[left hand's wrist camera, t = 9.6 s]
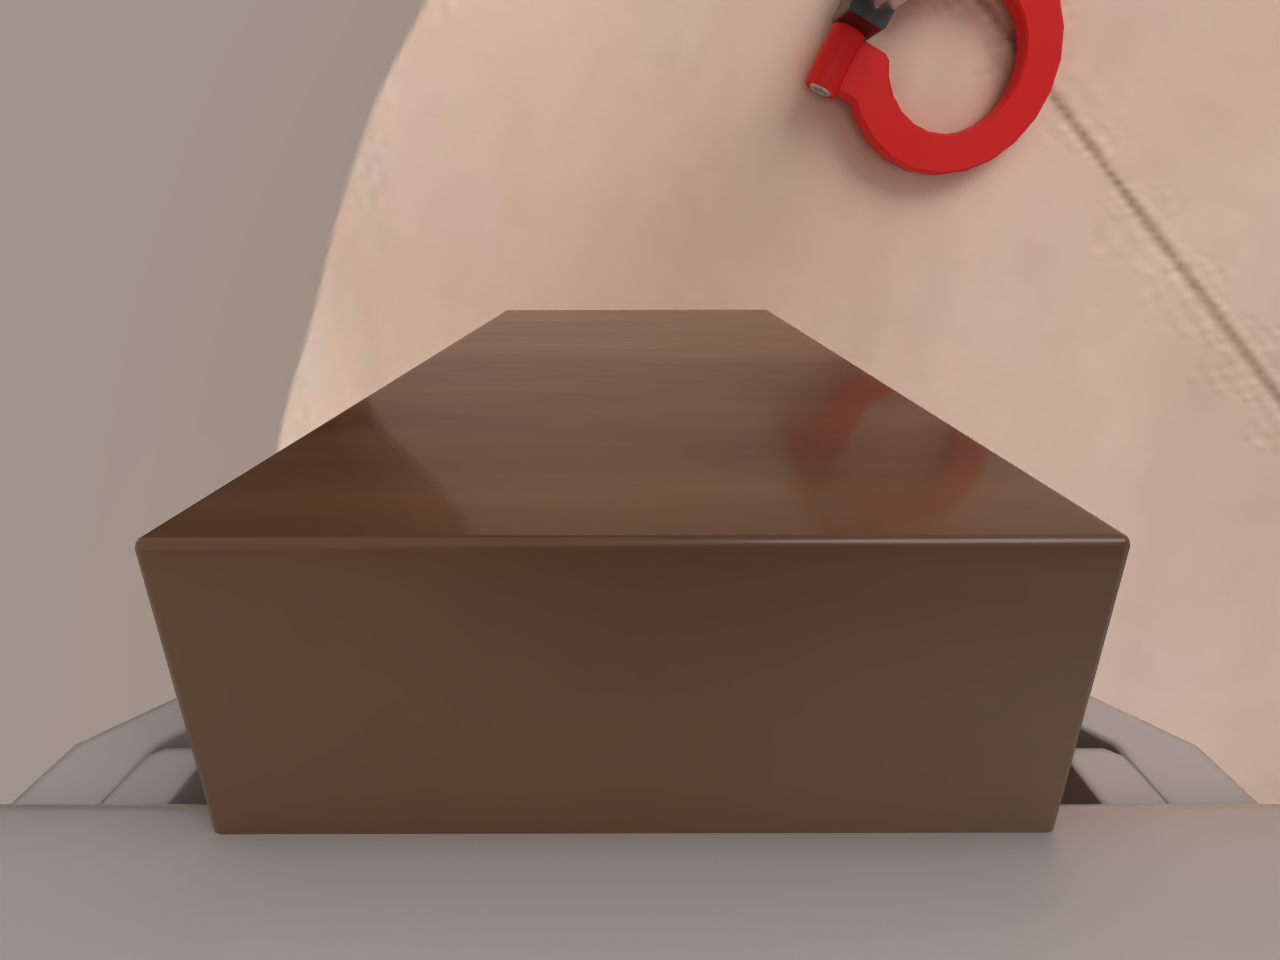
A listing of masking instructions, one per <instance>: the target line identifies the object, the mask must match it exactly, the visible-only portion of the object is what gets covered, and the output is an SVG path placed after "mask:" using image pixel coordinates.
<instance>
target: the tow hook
mask: <svg viewBox="0 0 1280 960" xmlns="http://www.w3.org/2000/svg"><path fill="white" fill-rule="evenodd" d="M906 1H908V0H842V1H841V3H840V5H839V7H838V9H837V11H836V13H835V15H834V17H833V20H832V24H833V25H832V27H831V29H830V31H829V33H828V35H827V37H826V39H825V41H824V43H823V46H822V48H821V50H820V52H819V54H818V56H817V58H816V60H815V62H814V64H813V66H812V68H811V70H810V72H809V74H808V76H807V78H806V80H805V84H806V85H807V86H808V87H809V88H810V89H811V90H812V91H814V92H815V93H817V94H819V95H822V96H824V97H828V98H835V97H836V96H838V97H839V98H841V99H843V100H844V101H846V102H848V103H849V104H851V108H852V112H853V116H854V119H855V121H856V123H857V124H858V126H859V128H860V130H861V132H862V133H863V135H864V137H865V139H866V141H867V142H868V143H869V144H870V145H871V146H872V147H873V148H874V149H875V150H876V151H877V152H878V153H879V154H880V155H881V156H882V157H883V158H884V159H885V160H887V161H889V162H891V163H893V164H895V165H897V166H899V167H901V168H903V169H905V170H907V171H910V172H916V173H923V174H929V175H938V174H946V173H953V172H961V171H966V170H969V169H971V168H973V167H976V166H978V165H980V164H983V163H985V162H987V161H990V160H992V159H993V158H994V157H996V156H997V155H998V154H1000V153H1001V152H1002V151H1004V150H1005V149H1006V148H1008V147H1009V146H1011V145H1012V144H1013V143H1015V142H1016V140H1017V139H1018V138H1019V137H1020V136H1021V135H1022V133H1023V132H1024V131H1025V130H1026V129H1027V128H1028V127H1029V125H1030V124H1031V123H1032V122H1033V121H1034V120H1035V118H1036V117H1037V115H1038V113H1039V111H1040V109H1041V108H1042V106H1043V104H1044V102H1045V100H1046V99H1047V97H1048V95H1049V93H1050V91H1051V89H1052V86H1053V83H1054V79H1055V76H1056V73H1057V70H1058V67H1059V63H1060V60H1061V52H1062V41H1063V30H1064V24H1063V17H1062V10H1061V3H1060V0H1003V1H1004V2H1005V3H1006V5H1007V7H1008V9H1009V11H1010V14H1011V16H1012V18H1013V20H1014V24H1015V31H1016V37H1017V51H1016V62H1015V66H1014V69H1013V73H1012V76H1011V80H1010V82H1009V84H1008V86H1007V88H1006V90H1005V92H1004V93H1003V95H1002V97H1001V99H1000V100H999V102H998V103H997V104H996V105H995V106H994V108H993V109H992V110H991V111H990V112H989V113H988V115H987V116H985V117H984V118H983V119H981V120H980V121H979V122H977V123H976V124H975V125H973V126H972V127H970V128H967V129H965V130H963V131H960V132H958V133H952V134H939V133H933V132H928V131H926V130H924V129H923V128H921V127H919V126H917V125H915V124H913V123H912V122H911V121H910V120H909V119H908V118H907V117H906V116H905V115H904V114H903V113H902V111H901V109H900V107H899V106H898V104H897V102H896V100H895V98H894V96H893V93H892V88H891V84H890V80H889V60H888V58H887V56H886V54H885V53H883V52H882V51H880V50H878V49H877V48H875V47H874V46H872V45H870V44H869V43H867V42H865V41H866V40H868V39H869V38H871V37H872V36H874V35H876V34H877V33H879V32H880V31H882V30H883V29H885V28H886V26H887V24H888V22H889V20H890V18H891V16H892V14H893V12H894V10H895V9H896V8H897V7H899V5H902V4H903V3H905V2H906Z"/></svg>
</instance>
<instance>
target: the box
mask: <svg viewBox="0 0 1280 960" xmlns="http://www.w3.org/2000/svg"><path fill="white" fill-rule="evenodd" d="M1129 548H1130V542H1129V539H1128V537H1127V536H1126V535H1124V534H1123V533H1121V532H1120V531H1118V530H1116V529H1115V528H1113V527H1112V526H1110V525H1108V524H1107V523H1105V522H1104V521H1102V520H1100V519H1099V518H1097V517H1096V516H1094V515H1093V514H1091V513H1089V512H1088V511H1086V510H1085V509H1083V508H1081V507H1080V506H1078V505H1077V504H1075V503H1073V502H1072V501H1070V500H1069V499H1067V498H1065V497H1064V496H1062V495H1061V494H1059V493H1057V492H1056V491H1054V490H1053V489H1051V488H1049V487H1048V486H1046V485H1045V484H1043V483H1041V482H1040V481H1038V480H1037V479H1035V478H1033V477H1032V476H1030V475H1029V474H1027V473H1026V472H1024V471H1022V470H1021V469H1019V468H1018V467H1016V466H1014V465H1013V464H1011V463H1010V462H1008V461H1006V460H1005V459H1003V458H1002V457H1000V456H998V455H997V454H995V453H994V452H992V451H990V450H989V449H987V448H986V447H984V446H982V445H981V444H979V443H978V442H976V441H974V440H973V439H971V438H970V437H968V436H967V435H965V434H963V433H962V432H960V431H959V430H957V429H955V428H954V427H952V426H951V425H949V424H947V423H946V422H944V421H943V420H941V419H939V418H938V417H936V416H935V415H933V414H931V413H930V412H928V411H927V410H925V409H923V408H922V407H920V406H919V405H917V404H915V403H914V402H912V401H911V400H909V399H908V398H906V397H904V396H903V395H901V394H900V393H898V392H896V391H895V390H893V389H892V388H890V387H888V386H887V385H885V384H884V383H882V382H880V381H879V380H877V379H876V378H874V377H872V376H871V375H869V374H868V373H866V372H864V371H863V370H861V369H860V368H858V367H856V366H855V365H853V364H852V363H850V362H849V361H847V360H845V359H844V358H842V357H841V356H839V355H837V354H836V353H834V352H833V351H831V350H829V349H828V348H826V347H825V346H823V345H821V344H820V343H818V342H817V341H815V340H813V339H812V338H810V337H809V336H807V335H805V334H804V333H802V332H801V331H799V330H797V329H796V328H794V327H793V326H791V325H790V324H788V323H786V322H785V321H783V320H782V319H780V318H778V317H777V316H775V315H774V314H772V313H770V312H769V311H767V310H507V311H505V312H504V313H502V314H500V315H499V316H497V317H496V318H494V319H492V320H491V321H489V322H488V323H486V324H484V325H483V326H481V327H479V328H478V329H476V330H475V331H473V332H471V333H470V334H468V335H467V336H465V337H463V338H462V339H460V340H458V341H457V342H455V343H454V344H452V345H450V346H449V347H447V348H446V349H444V350H442V351H441V352H439V353H437V354H436V355H434V356H433V357H431V358H429V359H428V360H426V361H425V362H423V363H421V364H420V365H418V366H417V367H415V368H413V369H412V370H410V371H408V372H407V373H405V374H404V375H402V376H400V377H399V378H397V379H396V380H394V381H392V382H391V383H389V384H387V385H386V386H384V387H383V388H381V389H379V390H378V391H376V392H375V393H373V394H371V395H370V396H368V397H367V398H365V399H363V400H362V401H360V402H358V403H357V404H355V405H354V406H352V407H350V408H349V409H347V410H346V411H344V412H342V413H341V414H339V415H337V416H336V417H334V418H333V419H331V420H329V421H328V422H326V423H325V424H323V425H321V426H320V427H318V428H316V429H315V430H313V431H312V432H310V433H308V434H307V435H305V436H304V437H302V438H300V439H299V440H297V441H296V442H294V443H292V444H291V445H289V446H287V447H286V448H284V449H283V450H281V451H279V452H278V453H276V454H275V455H273V456H271V457H270V458H268V459H266V460H265V461H263V462H262V463H260V464H258V465H257V466H255V467H254V468H252V469H250V470H249V471H247V472H246V473H244V474H242V475H241V476H239V477H237V478H236V479H234V480H233V481H231V482H229V483H228V484H226V485H225V486H223V487H221V488H220V489H218V490H216V491H215V492H213V493H212V494H210V495H208V496H207V497H205V498H204V499H202V500H200V501H199V502H197V503H196V504H194V505H192V506H191V507H189V508H187V509H186V510H184V511H183V512H181V513H179V514H178V515H176V516H175V517H173V518H171V519H170V520H168V521H166V522H165V523H163V524H162V525H160V526H158V527H157V528H155V529H154V530H152V531H150V532H149V533H147V534H145V535H144V536H142V537H141V538H139V539H138V540H137V542H136V545H135V551H136V554H137V558H138V561H139V565H140V569H141V572H142V576H143V579H144V583H145V586H146V590H147V593H148V597H149V600H150V604H151V607H152V611H153V614H154V618H155V621H156V625H157V628H158V632H159V636H160V639H161V643H162V646H163V650H164V653H165V657H166V660H167V664H168V667H169V671H170V674H171V678H172V682H173V685H174V689H175V692H176V696H177V699H178V703H179V706H180V710H181V713H182V717H183V720H184V724H185V728H186V731H187V735H188V738H189V742H190V745H191V749H192V752H193V756H194V759H195V763H196V766H197V770H198V773H199V777H200V781H201V784H202V788H203V791H204V795H205V798H206V802H207V805H208V809H209V812H210V816H211V819H212V823H213V826H214V830H215V833H218V834H614V833H1049V832H1051V831H1053V829H1054V826H1055V822H1056V818H1057V815H1058V811H1059V807H1060V804H1061V800H1062V796H1063V792H1064V789H1065V785H1066V781H1067V778H1068V774H1069V770H1070V766H1071V763H1072V759H1073V755H1074V752H1075V748H1076V744H1077V741H1078V737H1079V733H1080V729H1081V726H1082V722H1083V718H1084V715H1085V711H1086V707H1087V704H1088V700H1089V696H1090V692H1091V689H1092V685H1093V681H1094V678H1095V674H1096V670H1097V666H1098V663H1099V659H1100V655H1101V652H1102V648H1103V644H1104V641H1105V637H1106V633H1107V629H1108V626H1109V622H1110V618H1111V615H1112V611H1113V607H1114V604H1115V600H1116V596H1117V592H1118V589H1119V585H1120V581H1121V578H1122V574H1123V570H1124V567H1125V563H1126V559H1127V555H1128V552H1129Z"/></svg>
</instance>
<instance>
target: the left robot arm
mask: <svg viewBox="0 0 1280 960" xmlns="http://www.w3.org/2000/svg"><path fill="white" fill-rule="evenodd" d="M0 960H1280V804H1258V803H1257V802H1256V801H1255V800H1254V799H1253V798H1252V797H1251V796H1250V795H1249V794H1248V793H1246V792H1245V791H1244V790H1243V789H1242V788H1241V787H1240V786H1239V785H1238V784H1237V783H1236V782H1235V781H1234V780H1233V779H1232V778H1230V777H1229V776H1228V775H1227V774H1226V773H1225V772H1224V771H1223V770H1222V769H1221V768H1220V767H1219V766H1218V765H1217V764H1215V763H1214V762H1213V761H1212V760H1211V759H1210V758H1209V757H1208V756H1207V755H1206V754H1205V753H1204V752H1203V751H1202V750H1200V749H1199V748H1198V747H1197V746H1195V745H1193V744H1191V743H1189V742H1187V741H1185V740H1183V739H1180V738H1178V737H1176V736H1174V735H1172V734H1170V733H1168V732H1166V731H1164V730H1161V729H1159V728H1157V727H1155V726H1153V725H1151V724H1149V723H1147V722H1144V721H1142V720H1140V719H1138V718H1136V717H1134V716H1132V715H1130V714H1128V713H1125V712H1123V711H1121V710H1119V709H1117V708H1115V707H1113V706H1111V705H1108V704H1106V703H1104V702H1102V701H1100V700H1098V699H1096V698H1094V697H1091V696H1089V700H1088V704H1087V707H1086V711H1085V715H1084V718H1083V722H1082V726H1081V729H1080V733H1079V737H1078V741H1077V744H1076V748H1075V752H1074V755H1073V759H1072V763H1071V766H1070V770H1069V774H1068V778H1067V781H1066V785H1065V789H1064V792H1063V796H1062V800H1061V804H1060V807H1059V811H1058V815H1057V818H1056V822H1055V826H1054V829H1053V831H1051V832H1049V833H614V834H218V833H215V830H214V826H213V823H212V819H211V816H210V812H209V809H208V805H207V802H206V798H205V795H204V791H203V788H202V784H201V781H200V777H199V773H198V770H197V766H196V763H195V759H194V756H193V752H192V749H191V745H190V742H189V738H188V735H187V731H186V728H185V724H184V720H183V717H182V713H181V710H180V706H179V703H178V699H177V698H176V699H173V700H171V701H169V702H167V703H165V704H163V705H160V706H158V707H156V708H154V709H152V710H150V711H148V712H145V713H143V714H141V715H139V716H137V717H135V718H133V719H130V720H128V721H126V722H124V723H122V724H120V725H118V726H115V727H113V728H111V729H109V730H107V731H105V732H102V733H100V734H98V735H96V736H94V737H92V738H90V739H87V740H85V741H83V742H81V743H79V744H77V745H75V746H74V747H73V748H72V749H70V750H69V751H68V752H67V753H66V754H65V755H64V756H63V757H62V758H61V759H59V760H58V761H57V762H56V763H55V764H54V765H53V766H52V767H51V768H50V769H48V770H47V771H46V772H45V773H44V774H43V775H42V776H41V777H40V778H39V779H38V780H36V781H35V782H34V783H33V784H32V785H31V786H30V787H29V788H28V789H27V790H25V791H24V792H23V793H22V794H21V795H20V796H19V797H18V798H17V799H16V800H15V801H14V802H12V803H11V804H0Z"/></svg>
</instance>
